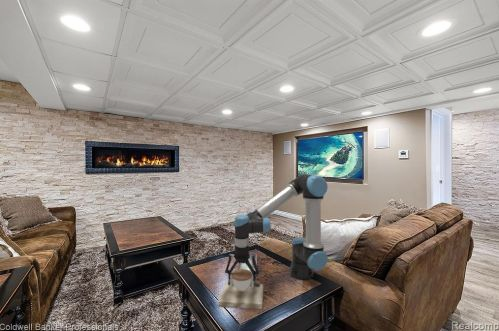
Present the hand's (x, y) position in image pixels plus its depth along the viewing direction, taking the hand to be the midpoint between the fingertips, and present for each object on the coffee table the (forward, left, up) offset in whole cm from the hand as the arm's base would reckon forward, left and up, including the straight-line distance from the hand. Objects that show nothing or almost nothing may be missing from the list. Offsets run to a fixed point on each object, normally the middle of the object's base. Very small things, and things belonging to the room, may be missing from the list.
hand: (241, 286), depth 120 cm
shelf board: (0, -1, -6) cm, 6 cm away
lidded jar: (0, 0, -1) cm, 1 cm away
